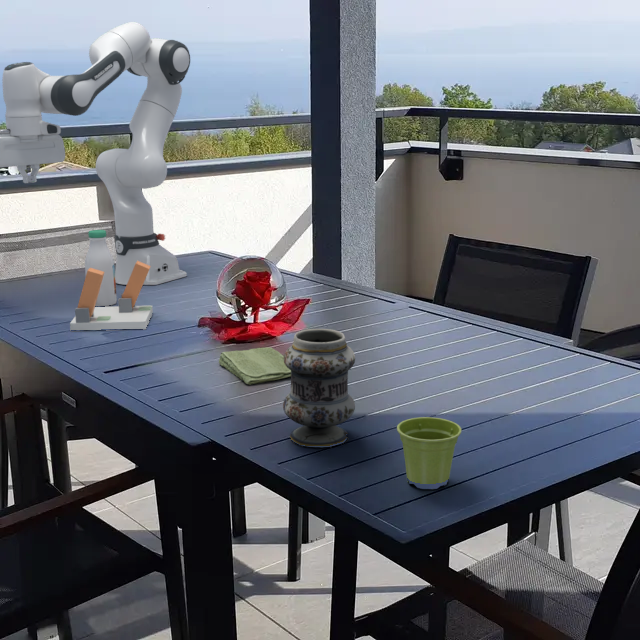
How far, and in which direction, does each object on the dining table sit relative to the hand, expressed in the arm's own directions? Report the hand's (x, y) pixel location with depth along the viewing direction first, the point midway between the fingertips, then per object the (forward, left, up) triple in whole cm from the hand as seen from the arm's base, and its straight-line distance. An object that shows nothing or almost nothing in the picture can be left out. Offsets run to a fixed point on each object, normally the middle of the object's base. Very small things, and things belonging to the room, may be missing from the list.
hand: (30, 182), depth 236 cm
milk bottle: (-12, +11, -33) cm, 37 cm away
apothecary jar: (+18, +119, -33) cm, 125 cm away
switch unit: (-3, +29, -33) cm, 44 cm away
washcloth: (-1, +85, -34) cm, 91 cm away
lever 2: (-8, +28, -29) cm, 41 cm away
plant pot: (+20, +143, -33) cm, 148 cm away
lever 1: (+5, +28, -29) cm, 41 cm away
